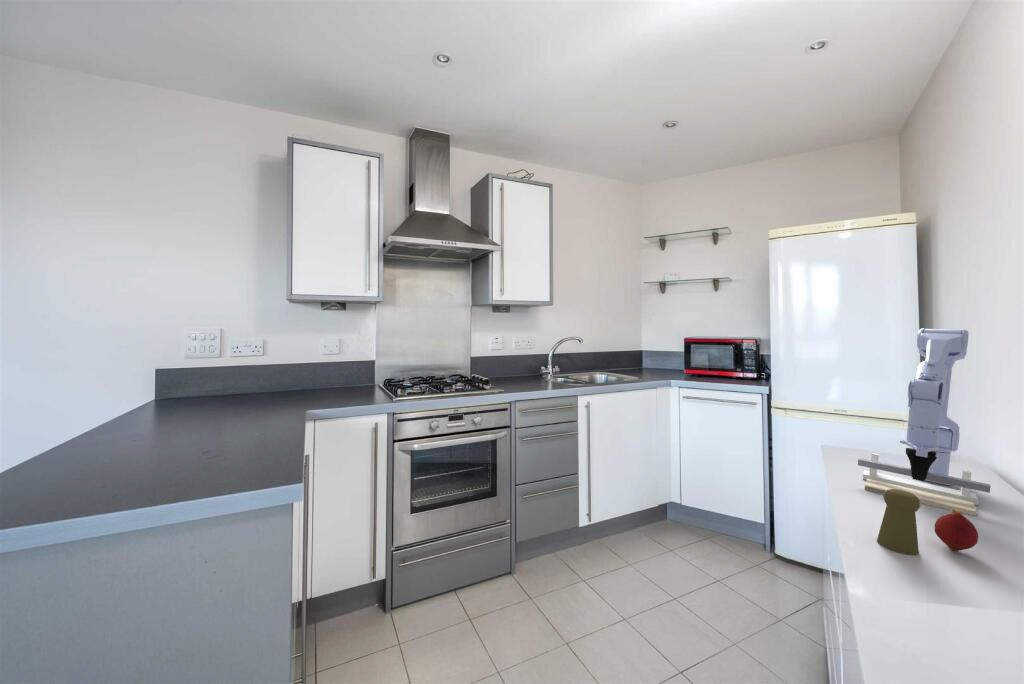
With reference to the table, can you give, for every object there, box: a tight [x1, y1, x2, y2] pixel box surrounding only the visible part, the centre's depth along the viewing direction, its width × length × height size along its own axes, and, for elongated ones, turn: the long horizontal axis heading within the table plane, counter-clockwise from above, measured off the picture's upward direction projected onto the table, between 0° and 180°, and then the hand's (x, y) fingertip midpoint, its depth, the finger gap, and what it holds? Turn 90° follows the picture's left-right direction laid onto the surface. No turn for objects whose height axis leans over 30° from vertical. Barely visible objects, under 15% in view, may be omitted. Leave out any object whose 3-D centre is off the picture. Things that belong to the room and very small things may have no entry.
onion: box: [934, 510, 979, 552], centre depth 81 cm, size 6×6×8 cm
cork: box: [876, 489, 921, 556], centre depth 81 cm, size 6×6×11 cm
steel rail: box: [857, 458, 991, 494], centre depth 107 cm, size 2×24×2 cm, turn 46°
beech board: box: [864, 479, 978, 517], centre depth 107 cm, size 8×20×1 cm, turn 46°
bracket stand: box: [862, 452, 979, 506], centre depth 113 cm, size 5×22×7 cm, turn 46°
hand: (918, 478), depth 107 cm, fingers closed on steel rail, 2 cm apart
